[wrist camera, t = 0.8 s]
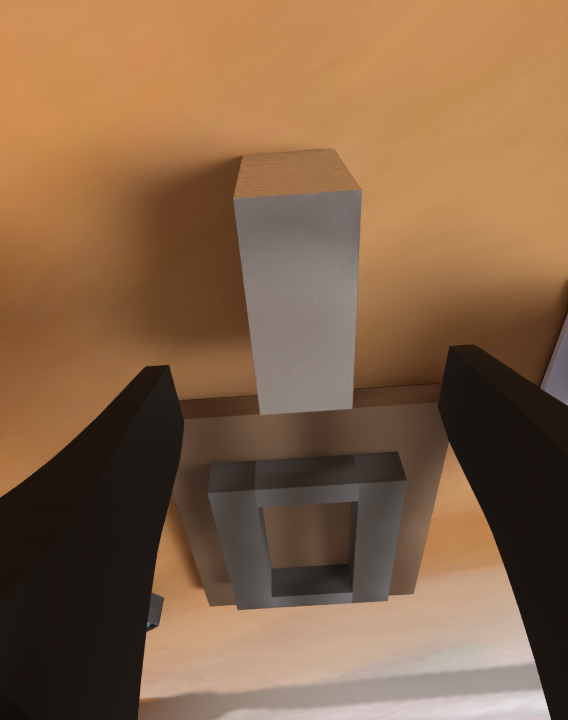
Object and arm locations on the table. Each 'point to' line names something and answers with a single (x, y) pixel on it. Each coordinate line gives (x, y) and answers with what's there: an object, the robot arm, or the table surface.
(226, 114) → the table surface
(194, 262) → the table surface
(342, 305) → the gray rectangular block
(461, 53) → the table surface
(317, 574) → the slot stand
